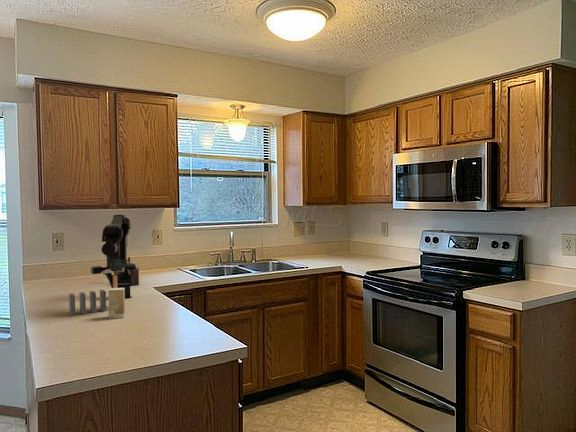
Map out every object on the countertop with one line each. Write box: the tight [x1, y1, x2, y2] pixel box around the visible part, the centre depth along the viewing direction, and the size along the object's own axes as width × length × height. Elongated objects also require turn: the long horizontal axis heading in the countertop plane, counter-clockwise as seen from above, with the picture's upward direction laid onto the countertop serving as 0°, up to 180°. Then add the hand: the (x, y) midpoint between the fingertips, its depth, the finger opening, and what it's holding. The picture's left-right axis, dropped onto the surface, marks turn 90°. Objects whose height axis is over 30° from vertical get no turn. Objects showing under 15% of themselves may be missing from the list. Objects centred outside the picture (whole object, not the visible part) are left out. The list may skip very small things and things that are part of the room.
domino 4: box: [99, 289, 107, 313], centre depth 201 cm, size 2×5×9 cm, turn 34°
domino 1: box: [68, 292, 76, 317], centre depth 194 cm, size 2×5×9 cm, turn 34°
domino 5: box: [110, 273, 118, 288], centre depth 204 cm, size 2×5×9 cm, turn 34°
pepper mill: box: [122, 256, 140, 287], centre depth 263 cm, size 16×11×18 cm
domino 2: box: [79, 291, 87, 315], centre depth 197 cm, size 2×5×9 cm, turn 34°
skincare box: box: [108, 287, 126, 319], centre depth 189 cm, size 6×4×12 cm
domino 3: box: [89, 290, 97, 314], centre depth 199 cm, size 2×5×9 cm, turn 34°
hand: (114, 287), depth 204 cm, fingers closed on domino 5, 2 cm apart
